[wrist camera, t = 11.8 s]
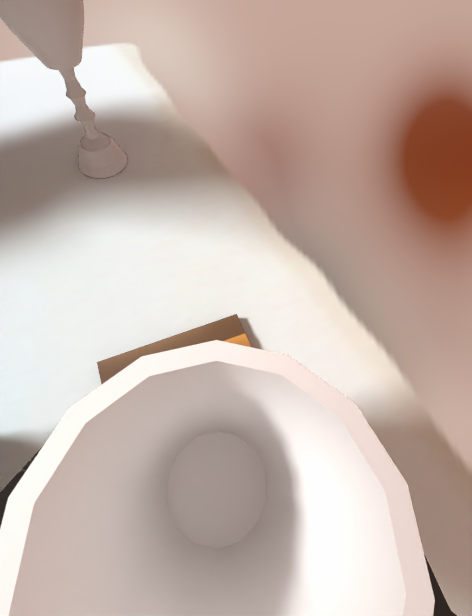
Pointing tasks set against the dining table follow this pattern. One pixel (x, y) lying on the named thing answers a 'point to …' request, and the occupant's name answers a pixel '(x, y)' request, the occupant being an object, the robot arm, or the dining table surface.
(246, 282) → the dining table surface
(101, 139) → the chalice
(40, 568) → the foam cup
